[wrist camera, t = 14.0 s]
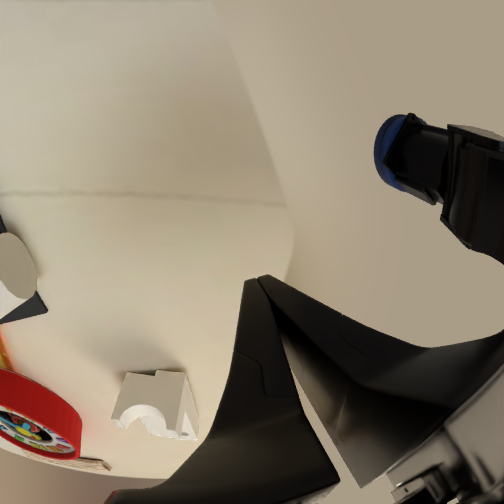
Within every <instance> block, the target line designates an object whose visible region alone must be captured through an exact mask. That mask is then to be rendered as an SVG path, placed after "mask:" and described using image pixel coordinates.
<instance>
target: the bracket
mask: <svg viewBox="0 0 504 504" xmlns="http://www.w3.org/2000/svg"><path fill="white" fill-rule="evenodd" d="M138 417H139V418H140V420H141V421H142V423H143V424H144V426H145V427H146V429H147V430H148V431H149V433H150V434H152V435H157V436H163V437H169V438H171V439H178V440H180V439H184V440H192V441H198V435H199V426H200V419H199V416H198V413H197V409H196V406H195V403H194V399H193V396H192V393H191V389H190V386H189V382H188V378H187V375H186V373H181V372H171V371H162V370H156V373H155V376H150V375H143V374H137V373H130V372H127V373H126V376H125V379H124V382H123V384H122V387H121V390H120V393H119V396H118V399H117V402H116V405H115V408H114V411H113V414H112V417H111V419H112V420H113V421H114V422H115V424H116V425H117V426H118V427H119V428H120V429H124V430H127V429H128V427H129V425H130V424H131V422H132V421H134V420H135V419H136V418H138Z"/></svg>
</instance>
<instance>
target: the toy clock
mask: <svg viewBox="0 0 504 504" xmlns="http://www.w3.org/2000/svg"><path fill="white" fill-rule="evenodd" d="M81 433H82V421H81V418H80V416H79V415H78V413H77V412H76V411H75V410H74V409H73V408H72V407H71V406H70V405H69V404H68V403H67V402H65V401H64V400H63V399H62V398H60V397H59V396H57V395H56V394H54V393H53V392H52V391H50V390H48V389H47V388H45V387H43V386H42V385H40V384H38V383H36V382H34V381H32V380H31V379H29V378H26V377H24V376H22V375H20V374H17V373H15V372H12V371H10V370H6V369H3V368H0V436H1V437H3V438H4V439H6V440H7V441H9V442H11V443H13V444H14V445H16V446H18V447H20V448H23V449H25V450H27V451H30V452H32V453H35V454H38V455H41V456H44V457H48V458H52V459H58V460H74V459H77V458H79V457H80V450H81Z"/></svg>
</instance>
